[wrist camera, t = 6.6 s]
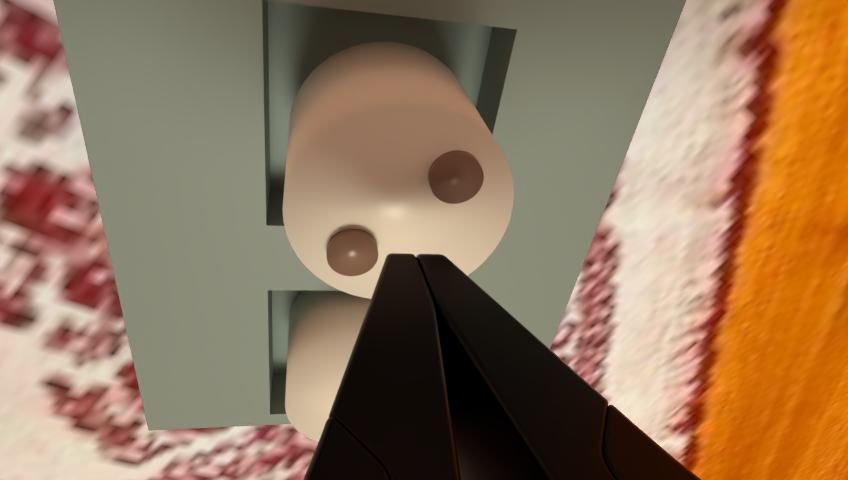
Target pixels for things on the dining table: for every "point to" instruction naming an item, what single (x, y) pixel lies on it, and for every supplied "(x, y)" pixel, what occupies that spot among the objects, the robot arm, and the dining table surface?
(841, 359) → the dining table surface
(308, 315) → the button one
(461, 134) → the button two
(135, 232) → the board
